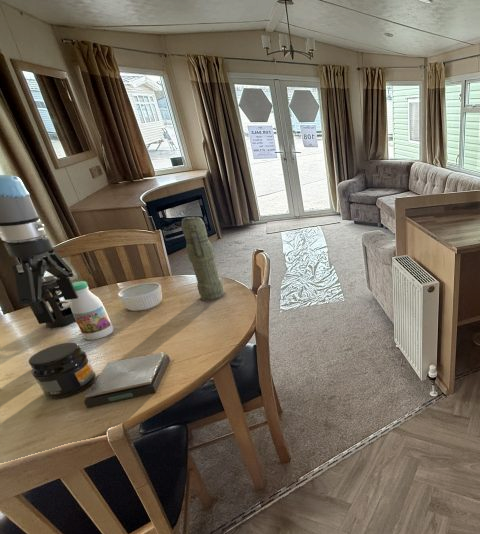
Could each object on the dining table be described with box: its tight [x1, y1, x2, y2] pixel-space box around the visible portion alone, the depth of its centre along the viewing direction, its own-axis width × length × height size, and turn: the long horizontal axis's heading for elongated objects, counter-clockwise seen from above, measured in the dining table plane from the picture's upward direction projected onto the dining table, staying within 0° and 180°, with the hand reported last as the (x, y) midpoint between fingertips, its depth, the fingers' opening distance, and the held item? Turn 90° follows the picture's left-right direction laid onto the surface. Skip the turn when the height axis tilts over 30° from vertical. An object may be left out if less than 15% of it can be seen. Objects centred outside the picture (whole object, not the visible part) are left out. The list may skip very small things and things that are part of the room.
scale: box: [83, 353, 171, 409], centre depth 98 cm, size 15×15×2 cm
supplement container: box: [28, 342, 97, 399], centre depth 94 cm, size 10×10×12 cm
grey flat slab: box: [85, 351, 166, 398], centre depth 98 cm, size 14×14×1 cm
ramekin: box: [117, 282, 163, 312], centre depth 137 cm, size 13×13×7 cm
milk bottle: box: [70, 280, 114, 341], centre depth 116 cm, size 8×8×20 cm
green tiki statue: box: [181, 215, 225, 302], centre depth 139 cm, size 9×12×35 cm
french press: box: [41, 275, 77, 329], centre depth 122 cm, size 12×9×23 cm
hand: (60, 310), depth 94 cm, fingers open, 13 cm apart
